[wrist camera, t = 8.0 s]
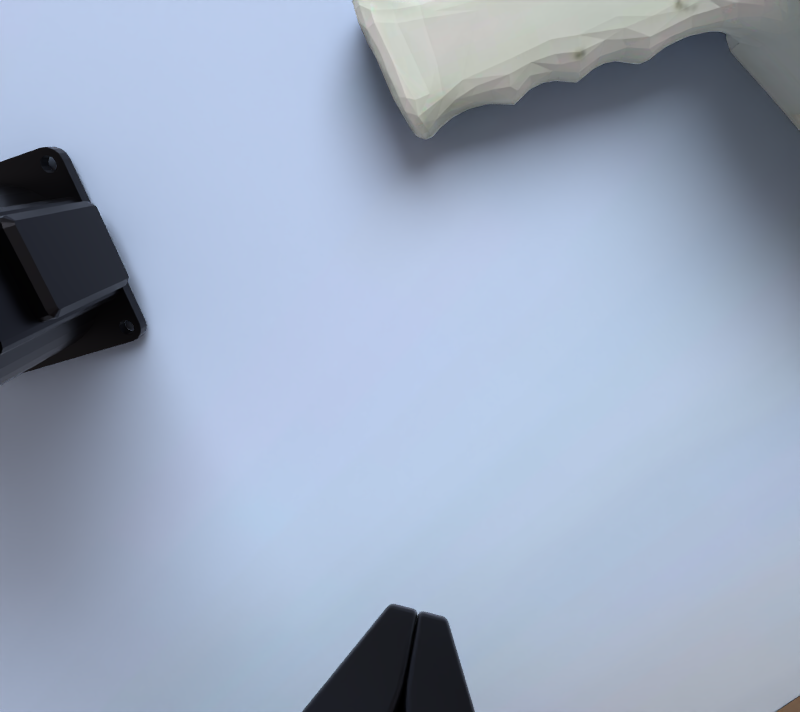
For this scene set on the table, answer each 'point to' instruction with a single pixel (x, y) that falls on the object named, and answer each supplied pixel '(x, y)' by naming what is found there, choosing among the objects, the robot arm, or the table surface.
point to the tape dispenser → (559, 46)
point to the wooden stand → (792, 706)
